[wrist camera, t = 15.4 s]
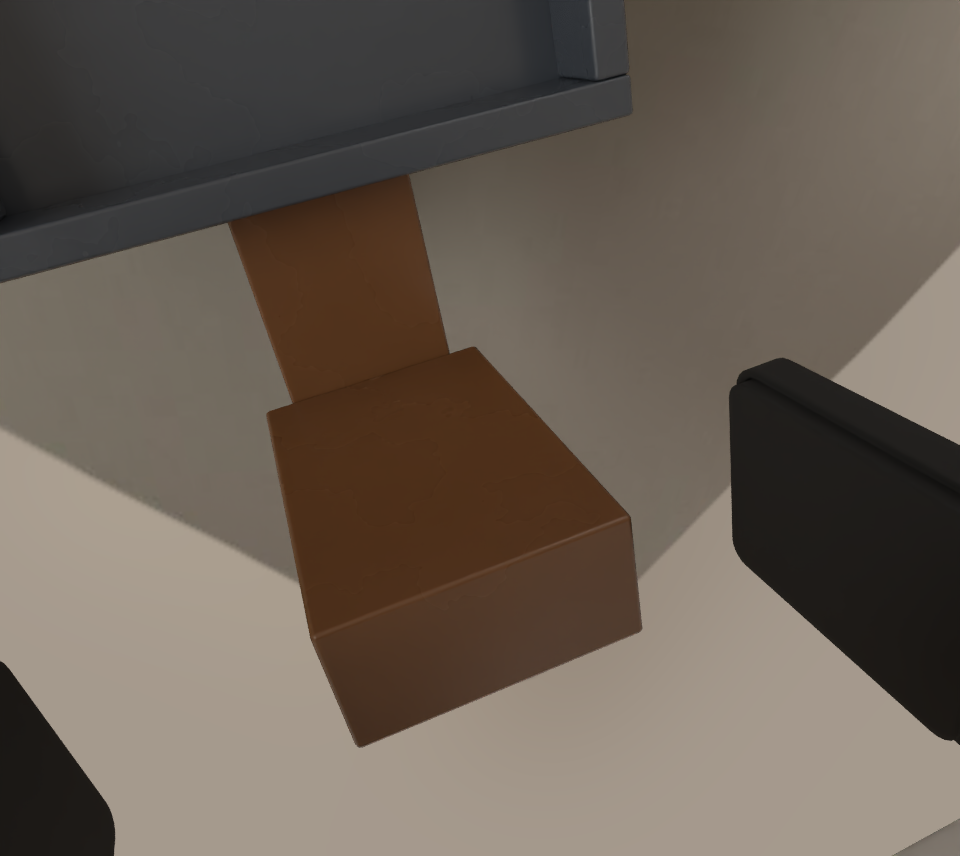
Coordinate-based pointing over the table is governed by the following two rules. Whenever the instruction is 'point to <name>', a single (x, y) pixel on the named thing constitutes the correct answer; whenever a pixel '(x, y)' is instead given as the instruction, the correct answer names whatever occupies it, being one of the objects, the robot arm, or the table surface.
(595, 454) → the table surface
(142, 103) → the dark piece
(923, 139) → the table surface
